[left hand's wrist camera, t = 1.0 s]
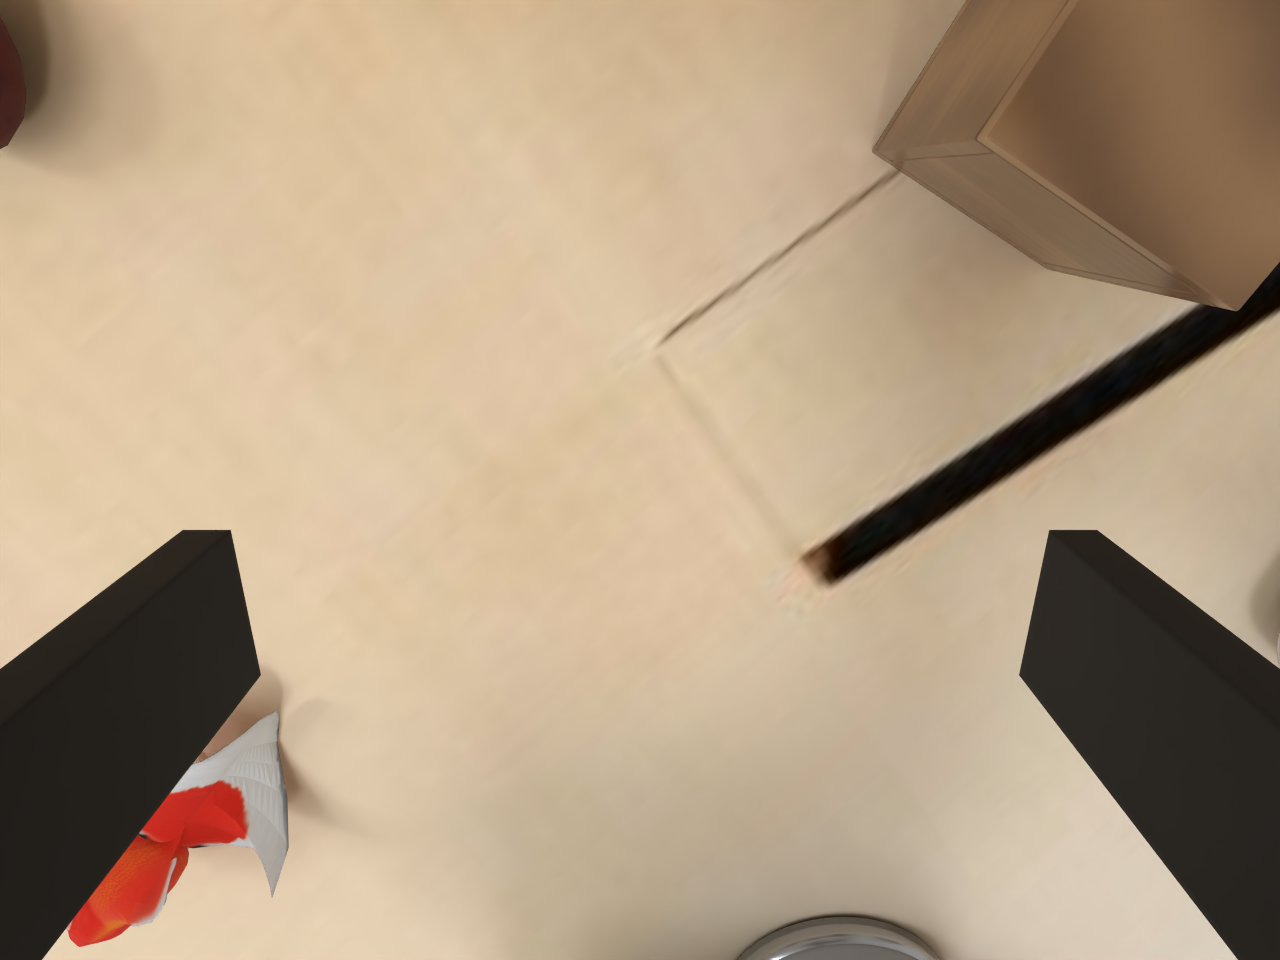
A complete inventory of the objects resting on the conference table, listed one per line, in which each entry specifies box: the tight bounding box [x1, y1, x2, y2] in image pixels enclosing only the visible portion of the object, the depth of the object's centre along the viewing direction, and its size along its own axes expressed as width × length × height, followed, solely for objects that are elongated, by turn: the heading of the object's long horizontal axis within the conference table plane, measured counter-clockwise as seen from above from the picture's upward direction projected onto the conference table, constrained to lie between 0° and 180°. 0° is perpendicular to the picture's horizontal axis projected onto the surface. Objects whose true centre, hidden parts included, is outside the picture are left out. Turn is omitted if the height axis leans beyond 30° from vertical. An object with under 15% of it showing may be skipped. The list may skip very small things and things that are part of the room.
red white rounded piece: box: [66, 710, 289, 947], centre depth 41 cm, size 11×16×10 cm
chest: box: [872, 0, 1217, 307], centre depth 27 cm, size 15×10×11 cm
